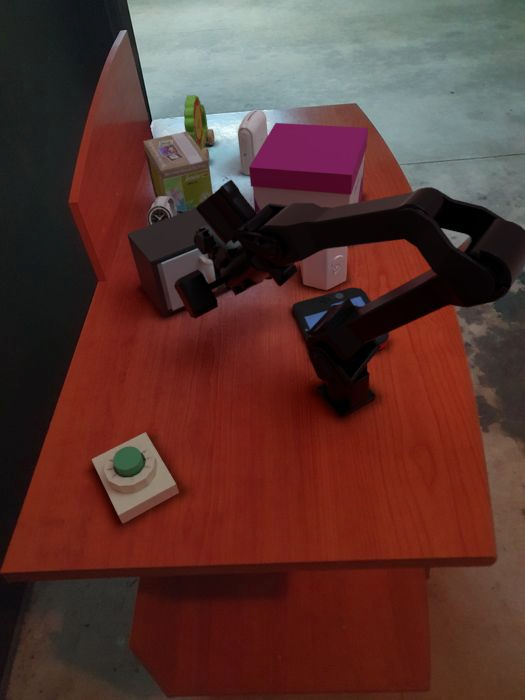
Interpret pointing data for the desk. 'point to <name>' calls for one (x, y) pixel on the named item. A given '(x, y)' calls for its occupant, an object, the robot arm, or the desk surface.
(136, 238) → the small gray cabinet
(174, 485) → the button block
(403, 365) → the desk surface
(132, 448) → the button
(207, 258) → the gray cabinet door
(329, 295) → the game console
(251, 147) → the photo printer
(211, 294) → the robot arm
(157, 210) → the watch
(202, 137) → the toy lion
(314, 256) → the jar
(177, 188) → the tea box
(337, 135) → the decorative box
